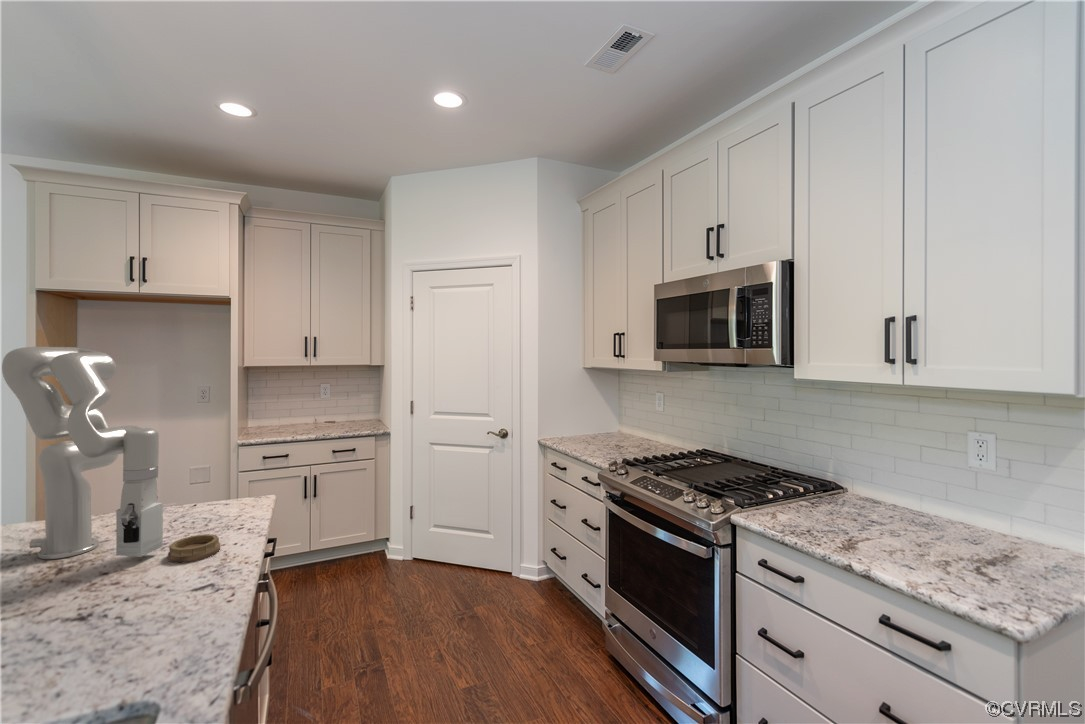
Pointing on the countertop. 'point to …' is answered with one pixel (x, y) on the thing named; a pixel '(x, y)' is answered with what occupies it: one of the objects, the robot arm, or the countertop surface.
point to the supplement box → (142, 532)
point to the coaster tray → (193, 558)
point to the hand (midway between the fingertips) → (140, 535)
